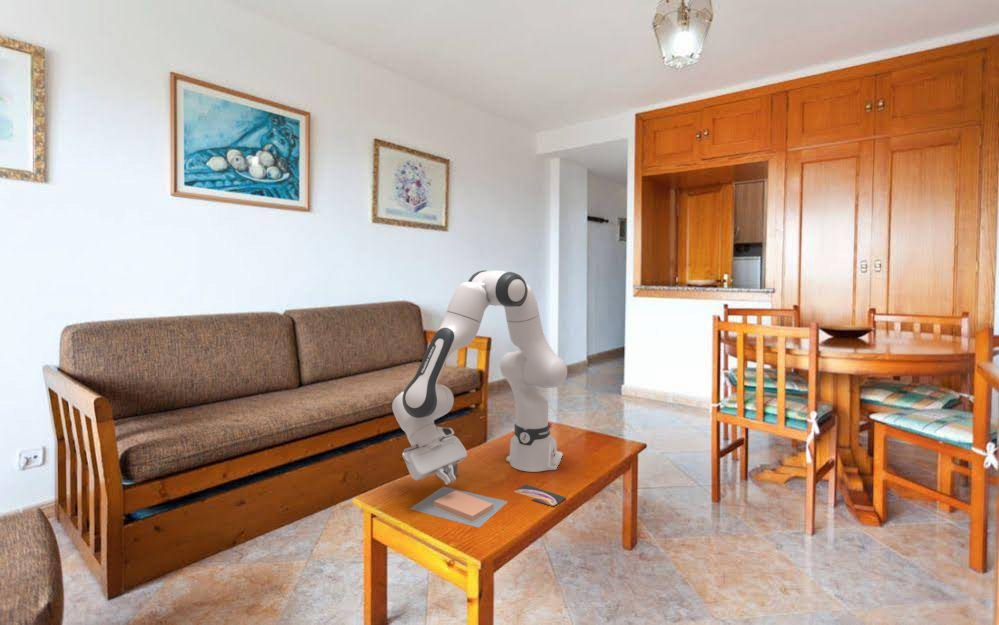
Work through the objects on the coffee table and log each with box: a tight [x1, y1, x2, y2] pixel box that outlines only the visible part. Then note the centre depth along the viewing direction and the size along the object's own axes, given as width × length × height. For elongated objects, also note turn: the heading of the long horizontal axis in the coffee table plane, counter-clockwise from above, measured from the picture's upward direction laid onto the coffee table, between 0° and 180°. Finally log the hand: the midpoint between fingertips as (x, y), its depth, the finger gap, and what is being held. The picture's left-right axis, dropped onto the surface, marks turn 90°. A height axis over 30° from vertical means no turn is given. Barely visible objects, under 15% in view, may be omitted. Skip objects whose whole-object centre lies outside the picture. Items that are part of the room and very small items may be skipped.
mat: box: [409, 485, 508, 528], centre depth 140 cm, size 17×22×1 cm
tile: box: [434, 490, 493, 523], centre depth 137 cm, size 2×9×14 cm
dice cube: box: [435, 463, 459, 478], centre depth 160 cm, size 5×5×5 cm
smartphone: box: [513, 484, 567, 508], centre depth 147 cm, size 8×1×15 cm
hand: (451, 482), depth 140 cm, fingers closed
